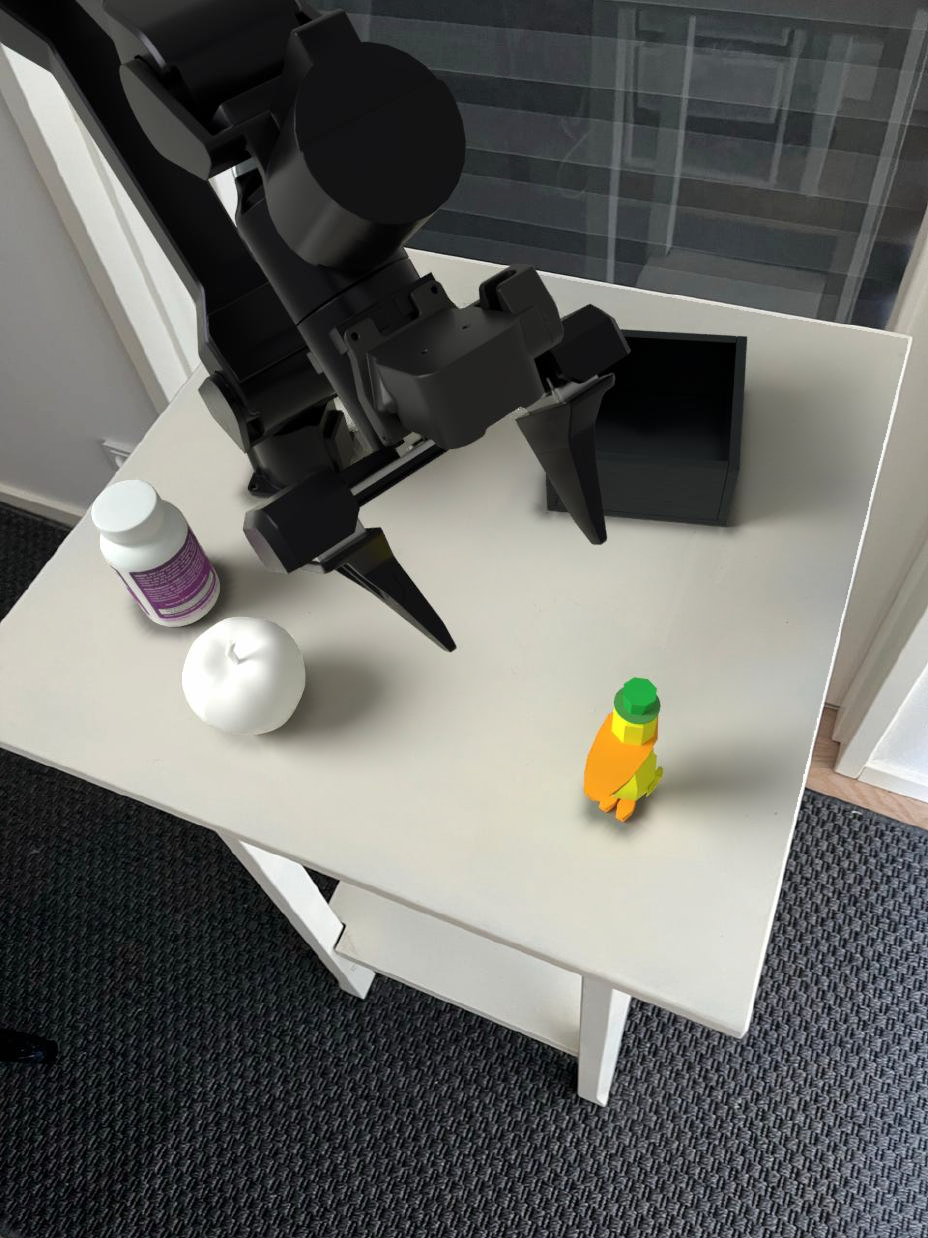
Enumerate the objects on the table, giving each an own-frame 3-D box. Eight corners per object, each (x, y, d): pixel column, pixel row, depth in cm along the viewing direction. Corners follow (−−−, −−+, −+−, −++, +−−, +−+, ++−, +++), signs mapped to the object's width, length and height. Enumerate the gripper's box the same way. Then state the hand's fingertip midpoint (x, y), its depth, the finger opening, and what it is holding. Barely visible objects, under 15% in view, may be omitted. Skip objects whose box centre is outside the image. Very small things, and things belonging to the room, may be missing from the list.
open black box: (546, 510, 63) (544, 454, 58) (570, 385, 69) (570, 325, 64) (726, 527, 61) (739, 470, 56) (735, 396, 67) (747, 335, 62)
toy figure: (617, 871, 50) (629, 786, 40) (558, 837, 51) (556, 747, 41) (673, 770, 52) (699, 666, 42) (617, 740, 54) (628, 633, 44)
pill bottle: (234, 570, 63) (184, 476, 55) (202, 636, 60) (145, 547, 52) (164, 557, 64) (105, 463, 56) (129, 621, 61) (62, 532, 53)
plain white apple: (276, 775, 55) (235, 715, 48) (183, 726, 57) (132, 662, 50) (341, 681, 57) (311, 612, 51) (250, 638, 60) (210, 566, 53)
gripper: (180, 365, 30) (425, 745, 34) (609, 124, 35) (779, 482, 39) (160, 411, 40) (350, 699, 45) (493, 220, 45) (637, 495, 49)
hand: (527, 595), depth 44 cm, fingers open, 9 cm apart
